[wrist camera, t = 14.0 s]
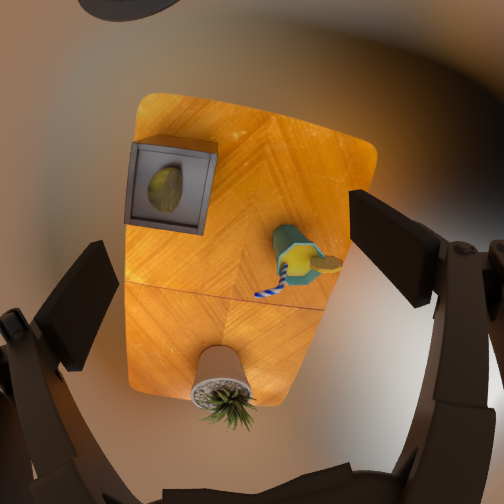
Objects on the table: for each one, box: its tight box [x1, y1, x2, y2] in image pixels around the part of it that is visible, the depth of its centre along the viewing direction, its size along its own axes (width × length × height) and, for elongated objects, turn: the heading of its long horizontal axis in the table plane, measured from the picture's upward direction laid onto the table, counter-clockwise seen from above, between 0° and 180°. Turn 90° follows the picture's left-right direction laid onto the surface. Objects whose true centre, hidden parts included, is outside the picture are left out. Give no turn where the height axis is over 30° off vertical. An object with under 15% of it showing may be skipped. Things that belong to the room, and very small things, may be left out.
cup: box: [255, 225, 342, 298], centre depth 47 cm, size 14×8×15 cm, turn 109°
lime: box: [147, 168, 182, 213], centre depth 31 cm, size 4×5×5 cm
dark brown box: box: [124, 134, 218, 236], centre depth 39 cm, size 10×10×15 cm
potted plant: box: [191, 346, 257, 430], centre depth 56 cm, size 13×14×20 cm
